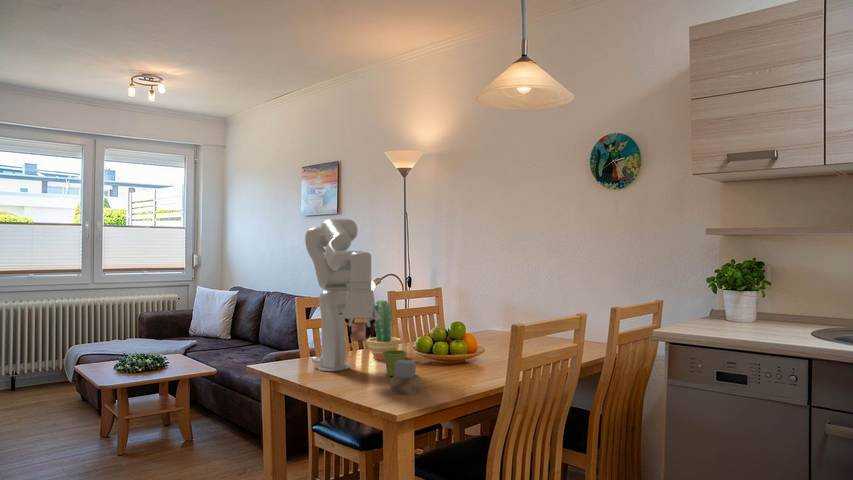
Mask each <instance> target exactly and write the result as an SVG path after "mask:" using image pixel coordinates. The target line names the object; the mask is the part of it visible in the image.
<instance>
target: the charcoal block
mask: <svg viewBox="0 0 853 480" xmlns="http://www.w3.org/2000/svg"><path fill="white" fill-rule="evenodd" d="M415 375H416V360H414V359H413V360H411V359H405V360H398V361H396V362H395V363H394V378H402V379H412V378H413V377H414V376H415Z"/></svg>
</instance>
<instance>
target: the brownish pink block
mask: <svg viewBox="0 0 853 480" xmlns="http://www.w3.org/2000/svg"><path fill="white" fill-rule="evenodd" d="M366 327H367V323H366V321H354V323H352V334H351V335H350V338H351V339H350V340H351V341H354V342H366V340H368V339H369V338H370V337H369V338H366Z"/></svg>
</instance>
